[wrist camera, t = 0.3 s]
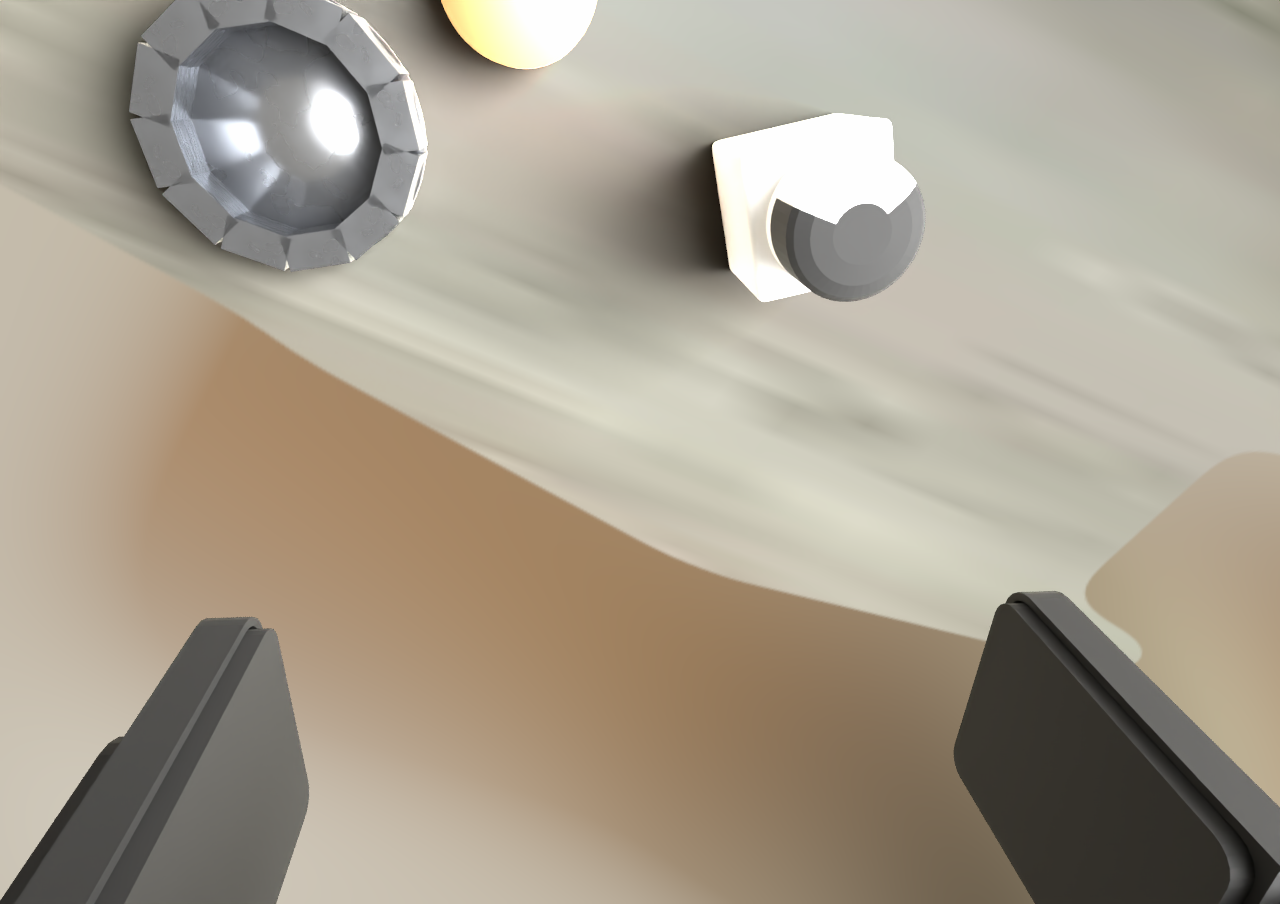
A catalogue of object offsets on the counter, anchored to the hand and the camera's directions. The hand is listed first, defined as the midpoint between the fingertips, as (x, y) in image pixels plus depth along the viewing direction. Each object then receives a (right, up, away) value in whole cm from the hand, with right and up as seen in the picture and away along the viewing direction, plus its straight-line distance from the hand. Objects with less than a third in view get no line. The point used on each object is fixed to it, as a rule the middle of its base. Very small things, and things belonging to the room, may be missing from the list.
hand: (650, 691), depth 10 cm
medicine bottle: (+8, +17, +32) cm, 37 cm away
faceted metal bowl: (-17, +19, +28) cm, 38 cm away
